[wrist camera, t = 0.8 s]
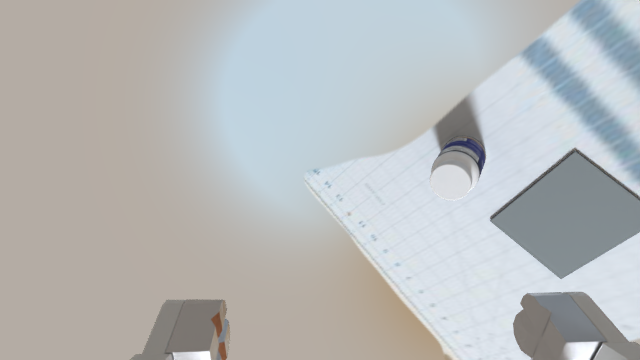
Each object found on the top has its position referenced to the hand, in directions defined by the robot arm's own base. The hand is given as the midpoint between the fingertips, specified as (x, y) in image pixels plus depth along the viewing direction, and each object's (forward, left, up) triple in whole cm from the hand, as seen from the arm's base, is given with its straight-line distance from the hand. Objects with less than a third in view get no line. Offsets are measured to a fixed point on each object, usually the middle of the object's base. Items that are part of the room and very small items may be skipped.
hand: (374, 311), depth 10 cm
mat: (+10, +19, -45) cm, 49 cm away
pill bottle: (+12, +4, -45) cm, 47 cm away
